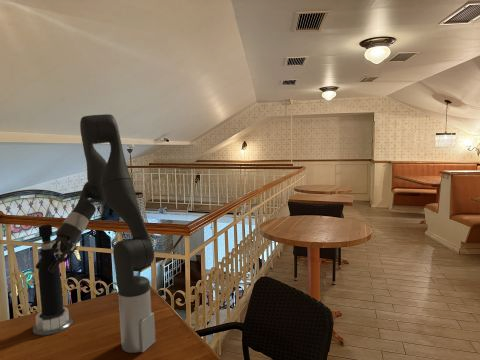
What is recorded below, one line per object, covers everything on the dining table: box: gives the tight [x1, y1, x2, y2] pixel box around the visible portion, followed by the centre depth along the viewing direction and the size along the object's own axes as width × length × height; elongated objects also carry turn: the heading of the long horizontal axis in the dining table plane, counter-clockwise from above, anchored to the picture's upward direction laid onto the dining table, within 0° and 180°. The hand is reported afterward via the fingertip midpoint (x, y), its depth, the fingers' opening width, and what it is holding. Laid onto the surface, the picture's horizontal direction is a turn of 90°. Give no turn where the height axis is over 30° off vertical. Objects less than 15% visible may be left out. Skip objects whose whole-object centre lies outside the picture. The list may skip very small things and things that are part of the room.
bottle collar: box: [32, 306, 74, 337], centre depth 114 cm, size 12×12×5 cm
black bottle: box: [37, 224, 64, 316], centre depth 113 cm, size 6×6×30 cm
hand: (43, 270), depth 111 cm, fingers closed on black bottle, 6 cm apart
